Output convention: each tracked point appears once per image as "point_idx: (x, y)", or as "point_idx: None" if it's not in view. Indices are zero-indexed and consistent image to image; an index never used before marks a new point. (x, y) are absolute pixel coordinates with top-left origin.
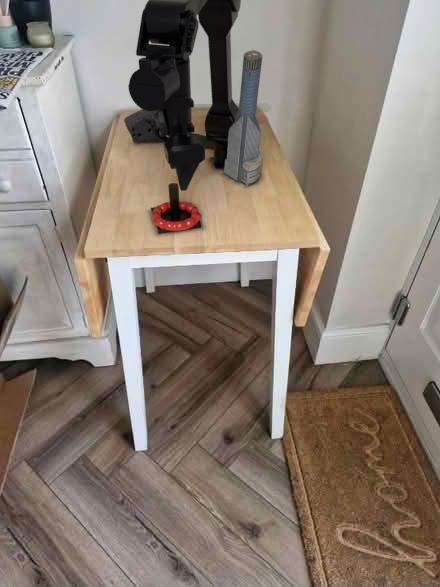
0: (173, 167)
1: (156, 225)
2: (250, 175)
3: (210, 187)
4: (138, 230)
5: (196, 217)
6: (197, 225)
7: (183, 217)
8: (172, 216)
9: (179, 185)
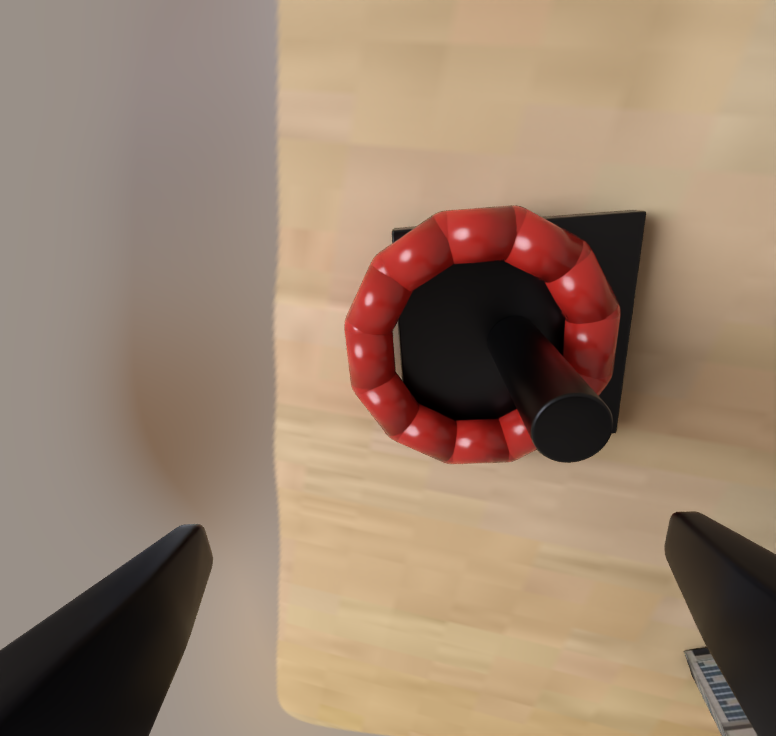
0: (675, 542)
1: None
2: (712, 711)
3: (751, 530)
4: (452, 114)
5: (403, 443)
6: None
7: (481, 376)
8: (496, 326)
9: (136, 560)
